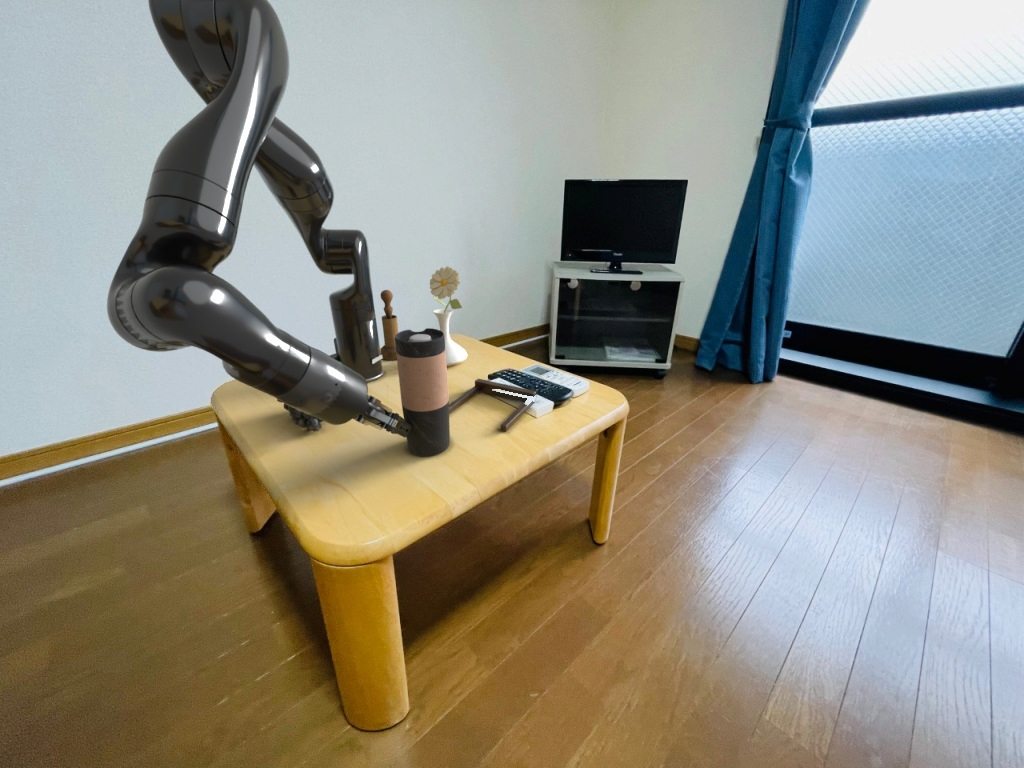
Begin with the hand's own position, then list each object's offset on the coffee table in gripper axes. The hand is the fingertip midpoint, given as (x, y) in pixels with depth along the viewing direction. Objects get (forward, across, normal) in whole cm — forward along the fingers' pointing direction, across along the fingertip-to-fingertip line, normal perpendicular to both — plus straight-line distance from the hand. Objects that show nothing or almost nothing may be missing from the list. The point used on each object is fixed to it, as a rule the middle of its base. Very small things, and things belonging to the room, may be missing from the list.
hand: (406, 430), depth 63 cm
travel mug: (+7, 0, 0) cm, 7 cm away
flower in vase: (+28, +26, -21) cm, 43 cm away
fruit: (+1, +24, +7) cm, 25 cm away
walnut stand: (+18, 0, -12) cm, 22 cm away
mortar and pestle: (+24, +41, -17) cm, 50 cm away
